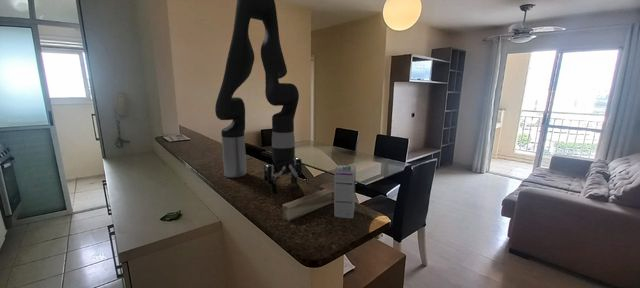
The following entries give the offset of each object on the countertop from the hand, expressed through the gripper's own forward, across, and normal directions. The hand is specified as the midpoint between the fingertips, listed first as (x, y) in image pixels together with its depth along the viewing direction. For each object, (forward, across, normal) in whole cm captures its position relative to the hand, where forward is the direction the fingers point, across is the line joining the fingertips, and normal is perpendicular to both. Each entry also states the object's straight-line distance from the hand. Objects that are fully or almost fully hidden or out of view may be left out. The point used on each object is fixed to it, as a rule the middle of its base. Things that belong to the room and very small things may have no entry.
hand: (284, 190), depth 91 cm
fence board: (+3, 0, +13) cm, 13 cm away
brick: (+3, -1, +5) cm, 6 cm away
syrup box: (+3, -6, +22) cm, 23 cm away
